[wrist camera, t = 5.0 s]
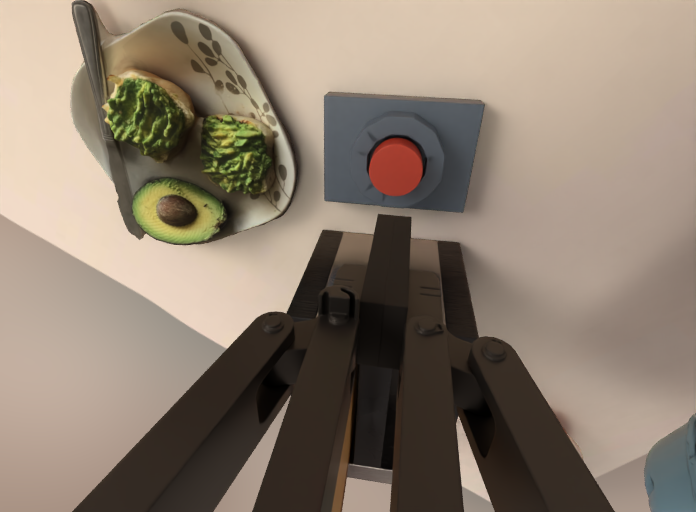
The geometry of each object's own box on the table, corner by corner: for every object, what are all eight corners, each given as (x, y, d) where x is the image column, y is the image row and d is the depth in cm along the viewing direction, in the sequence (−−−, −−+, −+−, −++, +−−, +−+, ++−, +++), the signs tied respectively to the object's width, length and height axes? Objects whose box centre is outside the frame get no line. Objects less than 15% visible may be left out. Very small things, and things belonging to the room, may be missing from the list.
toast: (361, 314, 29) (327, 506, 18) (355, 418, 35) (327, 609, 24) (331, 311, 29) (277, 498, 18) (330, 414, 35) (290, 602, 24)
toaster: (463, 225, 33) (485, 318, 23) (432, 379, 42) (437, 492, 32) (322, 213, 34) (283, 295, 24) (323, 364, 44) (295, 469, 34)
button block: (481, 100, 28) (489, 109, 25) (461, 204, 32) (466, 223, 29) (328, 91, 29) (318, 100, 26) (328, 193, 33) (319, 210, 30)
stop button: (425, 139, 27) (426, 146, 25) (419, 189, 29) (419, 198, 27) (372, 135, 27) (370, 142, 26) (369, 185, 29) (367, 194, 27)
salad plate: (18, 47, 30) (-40, 51, 27) (203, -68, 25) (164, -84, 21) (161, 252, 39) (133, 279, 35) (323, 200, 33) (311, 224, 30)
